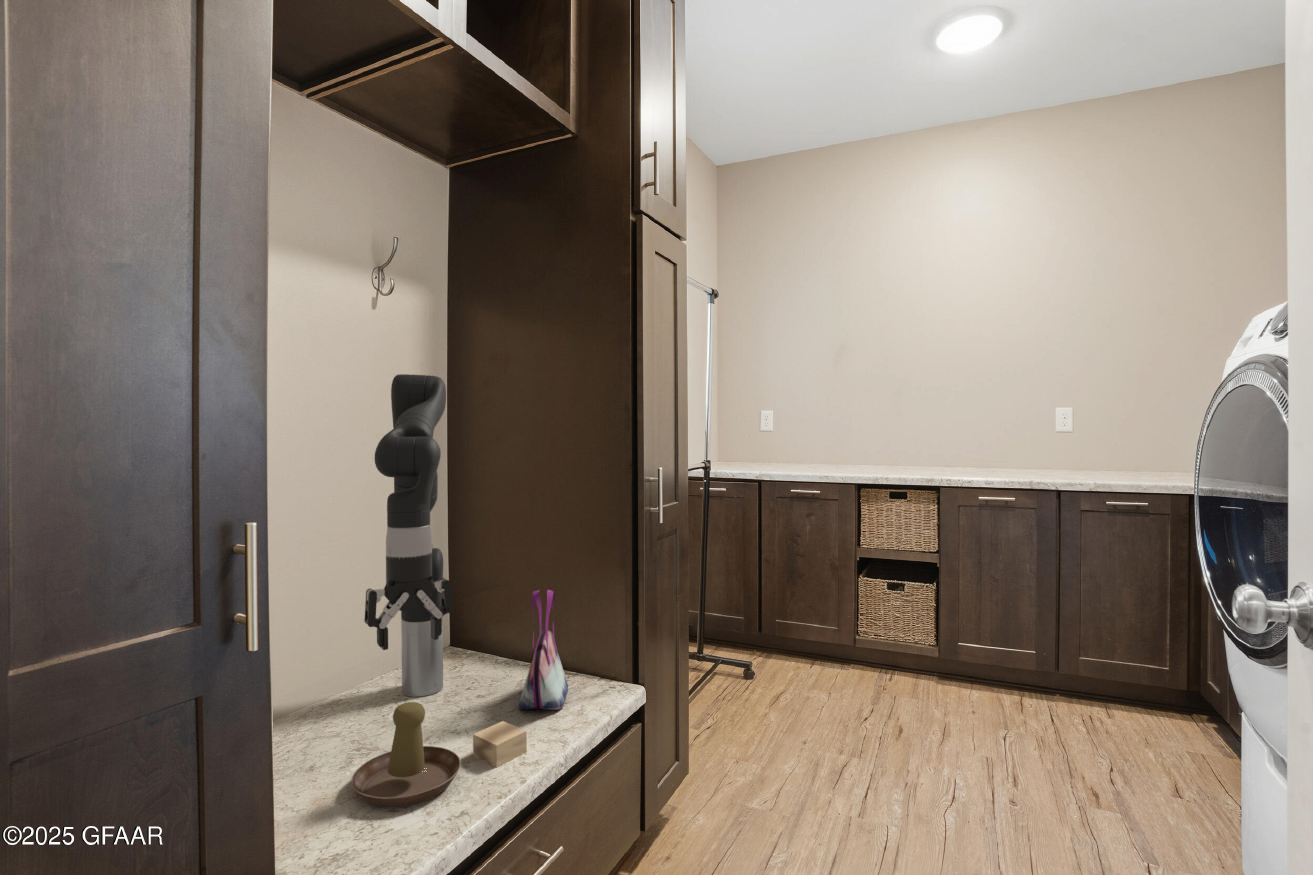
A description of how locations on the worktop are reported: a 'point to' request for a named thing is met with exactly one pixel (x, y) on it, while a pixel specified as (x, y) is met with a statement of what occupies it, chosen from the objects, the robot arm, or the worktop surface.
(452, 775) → the plant saucer
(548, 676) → the handbag
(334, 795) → the worktop surface
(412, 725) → the olive green pawn
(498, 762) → the oak base block
